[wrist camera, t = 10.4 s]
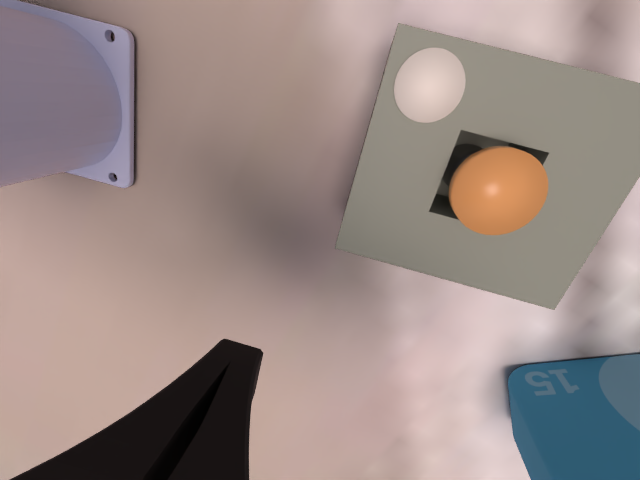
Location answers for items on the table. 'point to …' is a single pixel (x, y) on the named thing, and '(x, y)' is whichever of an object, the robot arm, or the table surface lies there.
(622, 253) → the table surface
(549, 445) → the data package
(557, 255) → the cabinet
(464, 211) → the button
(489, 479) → the table surface
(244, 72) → the table surface
